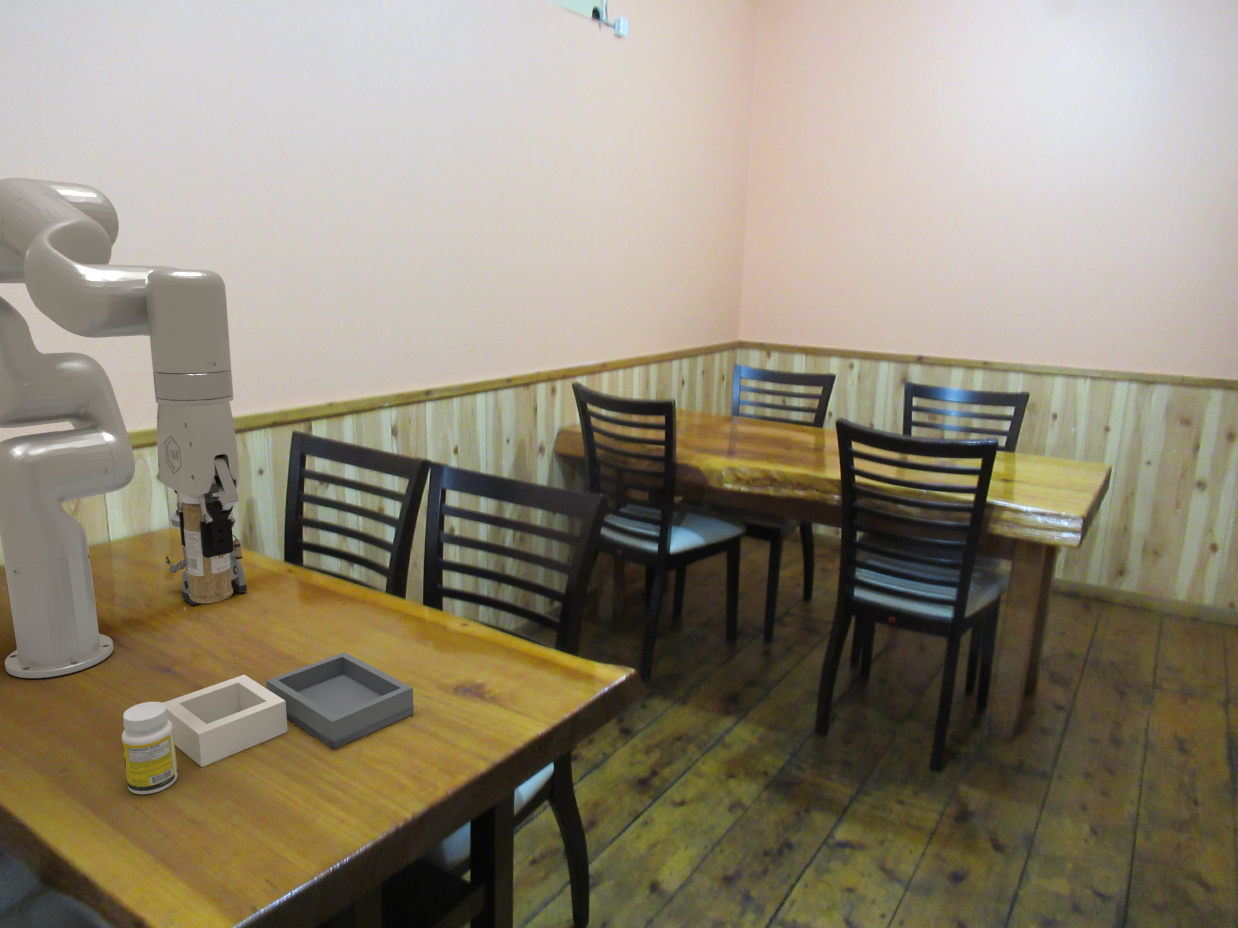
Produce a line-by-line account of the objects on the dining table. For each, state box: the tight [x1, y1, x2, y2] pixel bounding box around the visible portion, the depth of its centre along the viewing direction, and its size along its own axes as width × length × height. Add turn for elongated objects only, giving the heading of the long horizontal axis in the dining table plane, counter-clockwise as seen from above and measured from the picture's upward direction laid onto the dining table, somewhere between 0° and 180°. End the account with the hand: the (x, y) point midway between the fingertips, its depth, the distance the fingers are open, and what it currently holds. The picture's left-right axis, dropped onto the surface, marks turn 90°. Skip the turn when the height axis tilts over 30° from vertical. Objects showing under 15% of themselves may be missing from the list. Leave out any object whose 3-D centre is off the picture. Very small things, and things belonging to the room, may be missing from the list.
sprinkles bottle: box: [179, 486, 234, 604], centre depth 94 cm, size 5×5×13 cm
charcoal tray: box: [265, 651, 415, 750], centre depth 105 cm, size 15×11×4 cm
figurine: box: [165, 508, 248, 607], centre depth 141 cm, size 9×12×15 cm
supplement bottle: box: [121, 701, 179, 795], centre depth 89 cm, size 5×5×8 cm
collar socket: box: [163, 674, 289, 768], centre depth 99 cm, size 10×10×4 cm
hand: (207, 547), depth 94 cm, fingers closed on sprinkles bottle, 4 cm apart
